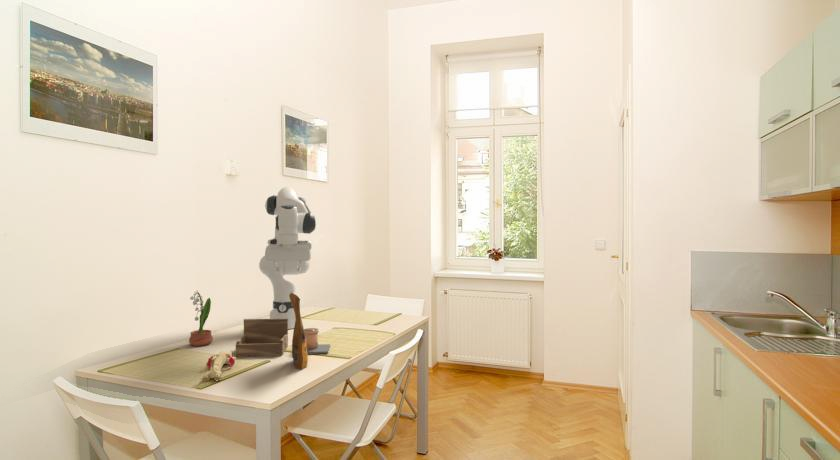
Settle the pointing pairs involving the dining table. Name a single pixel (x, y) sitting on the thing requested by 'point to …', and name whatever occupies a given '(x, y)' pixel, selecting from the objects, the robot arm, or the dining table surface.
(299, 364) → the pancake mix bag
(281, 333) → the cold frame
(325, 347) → the rubber mat
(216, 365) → the cream toy figurine
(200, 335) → the potted flower
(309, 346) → the terracotta pot
